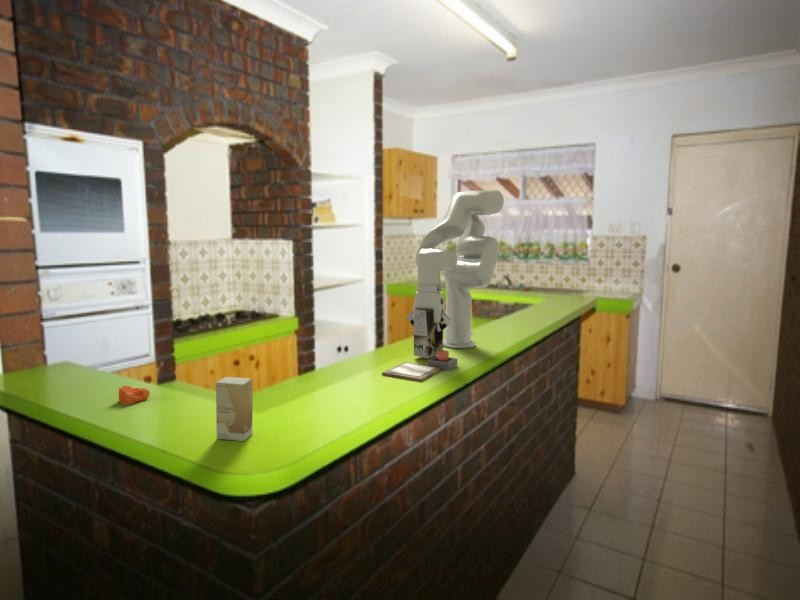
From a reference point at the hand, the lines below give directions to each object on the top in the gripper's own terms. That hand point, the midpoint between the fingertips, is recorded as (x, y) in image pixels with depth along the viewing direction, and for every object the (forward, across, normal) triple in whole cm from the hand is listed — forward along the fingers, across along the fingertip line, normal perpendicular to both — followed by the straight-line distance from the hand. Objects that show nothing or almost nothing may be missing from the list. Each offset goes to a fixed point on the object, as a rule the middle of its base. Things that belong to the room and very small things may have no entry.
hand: (428, 340), depth 176 cm
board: (+5, -4, +19) cm, 20 cm away
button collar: (+6, -9, +8) cm, 13 cm away
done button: (+4, -9, +8) cm, 13 cm away
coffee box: (+5, 0, 0) cm, 5 cm away
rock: (+4, +44, +78) cm, 89 cm away
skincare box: (+3, +5, +81) cm, 81 cm away
